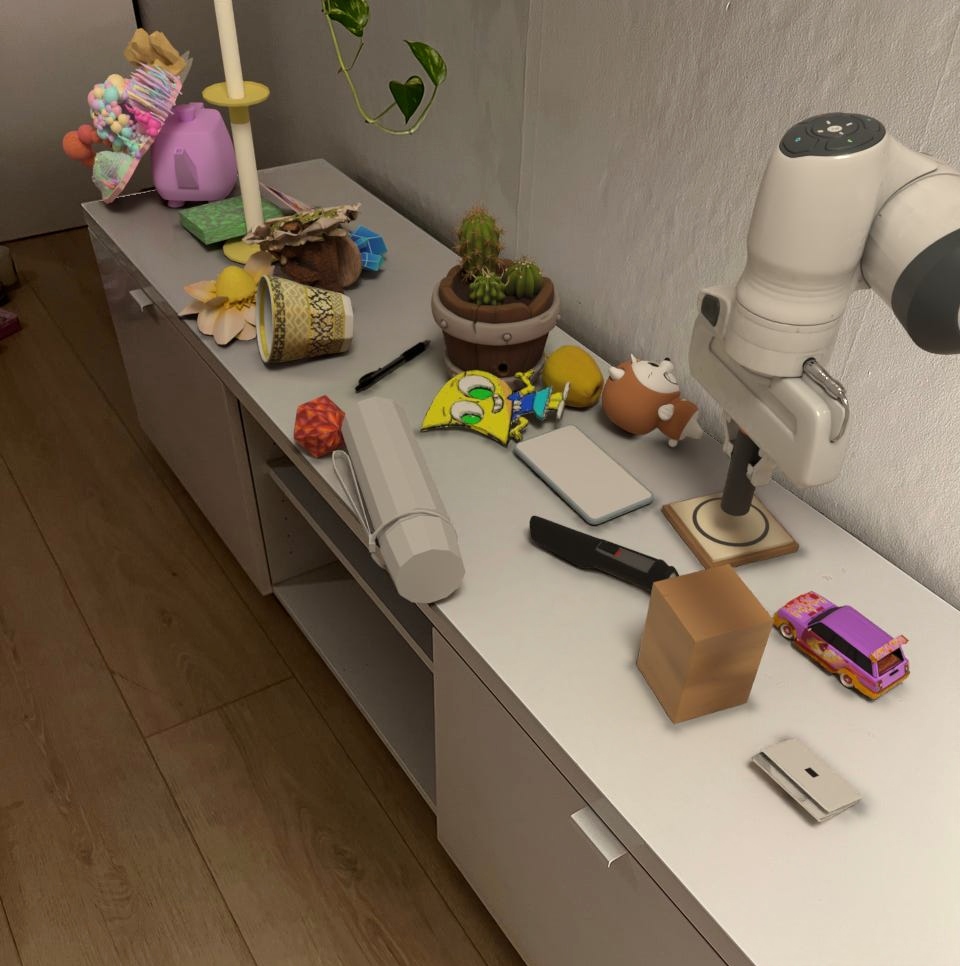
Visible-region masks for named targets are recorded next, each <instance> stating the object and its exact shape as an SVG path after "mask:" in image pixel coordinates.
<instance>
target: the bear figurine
mask: <svg viewBox="0 0 960 966" xmlns="http://www.w3.org/2000/svg"><path fill="white" fill-rule="evenodd" d="M362 204H363V203H362V202H361V201H359V202H356V203H355V204H353V206H351V204H350V205H349V204H344V205H338V206H331V207H330V206H329V207H322V208H320V206H317V207H313V208H311V209H305V210H302V211H301V212H300V213H297V212H296V213H295V214H293V215H288V216H284V217H279V218H272V219H267V220H266V221H265V222H264V223H263V224H262V225H261V226H260V225H259V226H258V227H257V228H256V230H255V232H254V233H252V228H253V227H252V228H251V230H250V231H249V232H248V233H247V234H246V236H245V237H244V238H243V239H242V240H243V241H244V242H246V243H248V244H250V245H253V244H259V245H260V250H261V251H263V250H264V251H266V250H267V251H268V252H269V253H270V254H272V255H273V256H274V257H276V258H277V259H279V260H278V267H279V270H280V271H281V272H282V273H283V274H284V275H286V276H288V277H290V278H291V279H292V280H291V281H293V282H296V283H299V284H302V285H306V286H310V287H315V288H319V289H324V290H328V291H333V292H337V293H341V294H343V295H346V293H345V290H344V288H343V287H342V286H341V285H340V284H339V280H338V273H339V266H338V257H337V248H336V240H335V238H336V236H346V235H347V234H350V233H349V231H350V230H349V229H347V228H345V227H343V226H342V224H345V225H346V224H348V225H350V224H351V222H354V221H357V220H358V218H359V214H361V211H359V207H360V206H361V205H362ZM315 208H316V209H317V210H315V211H312V212H304V211H308V210H312V209H315ZM348 230H349V231H348ZM242 240H241V241H242Z"/></svg>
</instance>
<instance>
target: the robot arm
mask: <svg viewBox="0 0 960 966" xmlns="http://www.w3.org/2000/svg"><path fill="white" fill-rule="evenodd" d="M746 234H747V235H746V262H745V265H744V266H745V267H744V269H743V270H742V272H741V274H740V276H739V279H738V280H737V281H732V282H728V283H727V282H726V283H722V284H717V285H713V286H712V285H711V286H708V287H704V288H701V289H700V290H699V292H698V295H697V301H696V309H697V311H698V314H697V316H696V318H695V321H694V323H693V327H692V328H693V329H692V331H691V332H692V333H691V338H690V344H689V350H688V357H687V358H688V359H687V360H688V366H689V372H690V375H691V377H692V378H693V379H694V380H695V381H696V382H697V383H698V384H699V386H701V388H703V390H704V391H706V393H707V394H709V396H710V397H711V399H713V400H714V401H715V402H716V403H717V405H718V406H720V408H721V409H722V413H721V420H722V426H723V432H724V434H723V435H724V437H725V438H724V441H723V445H722V446H723V447H722V452H723V453H724V454H725V455H726V456H727V457H728V458H729V460H731V458H732V454H733V450H734V445H735V441H736V437H737V433H738V429H739V427H740V428H741V429H742V430H743V431H744V432H745V433H746V434H747V435H748V436H749V437H750V438H751V439H752V440H753V442H754V443H755V444H756V445H757V446H758V447H759V448H760V449H759V453H758V454H759V456H760V457H762V459H761V460H759V461H758V462H750V463H748V467H747V472H746V477H747V479H748V480H749V481H750V482H751V483H752V484H753V486H755V487H756V488H758V487H761V486H766V485H768V484H769V483H770V482H771V479H772V476H773V473H774V470H775V469H779V471H780V472H781V473H782V475H784V476H785V477H786V478H787V479H788V480H789V481H790V483H791V484H792V485H793V486H794V487H795V488H797V489H799V490H805V489H811V488H816V487H821V486H824V485H827V484H830V483H832V482H835V481H836V480H837V479H838V478H839V476H840V475H841V472H842V469H843V465H844V462H845V457H846V454H847V449H848V445H849V441H850V435H851V430H852V421H853V415H852V407H851V405H850V403H849V400H848V398H847V396H846V393H847V390H846V388H845V386H844V385H843V384H842V383H841V382H840V381H839V380H838V379H836V378H834V377H833V376H832V375H831V374H830V372H829V371H828V370H827V369H826V366H827V365H828V364H829V363H830V360H831V357H832V354H833V351H834V347H835V344H836V341H837V337H838V334H839V332H840V328H841V325H842V323H843V322H842V321H843V318H844V315H845V313H846V309H847V305H848V302H849V299H850V297H851V296H852V295H853V294H854V293H855V292H857V291H861V290H872V291H873V292H874V293H875V294H876V295H877V297H879V298H880V299H881V300H882V301H883V302H884V303H885V304H886V305H887V307H889V309H890V310H891V311H892V313H893V315H894V316H895V318H896V319H897V320H898V322H899V323H900V325H901V326H902V328H903V329H904V331H905V333H907V335H908V337H909V338H910V339H911V341H912V342H913V343H914V344H915V346H917V347H918V348H919V349H921V350H923V351H924V352H927V353H930V354H933V355H939V356H940V355H941V356H954V355H960V171H959V170H957V169H956V168H955V167H953V166H952V165H950V164H949V163H948V162H947V161H945V160H943V159H941V158H939V157H937V156H934V155H932V154H930V153H927V152H921V151H916V150H914V149H911V148H910V147H908V146H906V145H905V144H903V143H902V142H901V141H899V140H898V139H896V138H895V137H894V135H892V134H891V133H889V131H888V130H887V127H886V126H885V124H884V123H882V122H881V121H880V120H878V119H877V118H875V117H872V116H868V115H866V114H861V113H852V112H842V111H839V112H838V111H836V112H835V111H834V112H827V113H826V112H825V113H821V114H815V115H813V116H810V117H808V118H805V119H803V120H801V121H798V122H797V123H795V124H794V125H792V126H790V128H788V129H787V130H786V131H785V132H784V133H783V135H782V136H781V137H780V139H779V140H778V142H777V143H776V145H775V147H774V148H773V150H772V152H771V154H770V157H769V159H768V161H767V163H766V166H765V169H764V172H763V175H762V178H761V181H760V184H759V187H758V190H757V194H756V198H755V201H754V205H753V209H752V212H751V216H750V222H749V227H748V230H747V233H746Z"/></svg>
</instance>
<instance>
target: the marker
mask: <svg viewBox="0 0 960 966" xmlns="http://www.w3.org/2000/svg"><path fill="white" fill-rule="evenodd" d="M759 449H760V448H759V447H758V446H757V445H756V444H755V443H754V442H753V440H752V439H751V438H750V437H749V436H748V435H747V434H746V433H745V432H744V431H743V430H742V429H741V428H740V427H739V429H738V433H737V437H736V441H735V445H734V450H733V454H732V458H731V459H730V463H729V467H728V471H727V475H726V479H725V483H724V487H723V491H722V492H723V495H722V499H721V504H720V506H721V509H722V510H723V511H724V512H725V513H727V514H729V515H732V516H743V515H746V514H747V513H748V512H749V510H750V507H751V503H752V499H753V496H754V494H755V492H756V488H757V487H755V486H753V484H752V483H751V482H750V481H749V480H748V479H747V477H746V472H747V467H748V463H750V462H758V461H759V460H761V459H762V457H760V456H759V454H758V453H759Z"/></svg>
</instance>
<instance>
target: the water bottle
mask: <svg viewBox="0 0 960 966" xmlns="http://www.w3.org/2000/svg"><path fill="white" fill-rule="evenodd" d="M341 431H342V434H343V437H344V440H345V443H344V444H345V446H346V449H347V452H348V454H347V453H346V452H345V451H344V450H342V449H336V450H334V451H332V455H331V459H332V467H333V473H334V475H335V477H336V479H337V481H338V482H339V484H340V487H341V489H342V491H343V492H344V494H345V496H346V498H347V500H348V502H349V504H350V506H351V508H352V510H353V512H354V514H355V517H356V518H357V519H358V521H359V524H360V525H361V527H362V529H363V531H364V533H365V535H366V537H367V539H368V553H370V556H371V558H372V560H373V561H374V562H375V563H376V564H377V565H378V567H380V568H381V569H383V570H385V571H387V572H388V574H389V576H390V578H391V580H392V583H393V584H394V587H395V589H396V590H397V591H396V592H397V593H398V594H399V595H400V596H401V597H402V598H404V599H405V600H407V601H409V602H411V603H418V604H431V603H434V602H437V601H440V600H442V599H446V598H447V597H449V596H451V594H452V593H454V592H455V591H456V590H457V589H458V588H459V587H461V585H462V581H463V579H464V577H465V575H466V569H465V565H464V562H463V557H462V554H461V550H460V547H459V539H458V537H459V536H458V533H457V530H456V528H455V526H454V524H453V523H452V522H451V519H450V517H449V514H448V512H447V510H446V507H445V505H444V503H443V500H442V498H441V495H440V492H439V490H438V488H437V486H436V483H435V481H434V478H433V476H432V474H431V471H430V469H429V466H428V464H427V462H426V459H425V457H424V455H423V452H422V450H421V448H420V445H419V443H418V440H417V437H416V436H415V432H414V430H413V428H412V426H411V423H410V421H409V418H408V416H407V414H406V411H405V409H404V408H403V407H402V406H401V405H399V404H398V403H397V402H396V401H394V400H393V399H392V398H389V397H388V398H387V397H380V396H371V397H368V398H364V399H361V400H359V401H357V402H356V403H355V404H354V405H353V406H352V407H351V408H350V409H349V410H348V411H347V412H345V416H344V420H343V424H342V427H341ZM339 457H342V458H343V460H345V461H346V462H347V466H348V469H349V472H350V476H351V479H352V482H353V485H354V489H355V492H356V496H357V499H358V502H359V506H360V510H361V513H362V516H361V514H360V512H359V510H358V508H357V506H356V504H355V502H354V500H353V498H352V496H351V493H350V492H349V491H348V488H347V486H346V484H345V482H344V480H343V478H342V476H341V474H340V472H339V470H338V468H337V466H336V461H335V459H336V458H339ZM358 485H359V486H358ZM359 488H360V489H359ZM360 491H361V493H360ZM361 494H362V496H363V499H364V503H365V506H366V509H367V512H368V515H369V517H370V521H371V524H372V526H373V530H374V531H373V533H371V530H370V526H369V523H368V519H367V515H366V512H365V507H364V503H363V501H362V496H361ZM362 517H363V518H362ZM376 539H377V541H378V545H379V552H380V556H381V558H382V561H383V562H381V560H379V558H378V556H377V554H376Z"/></svg>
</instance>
